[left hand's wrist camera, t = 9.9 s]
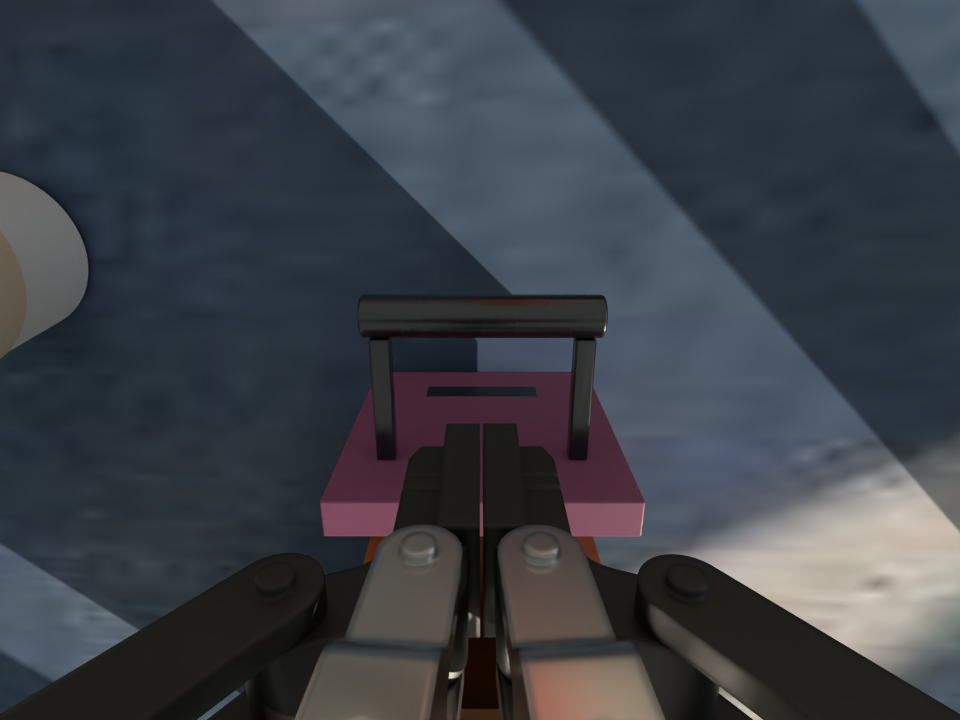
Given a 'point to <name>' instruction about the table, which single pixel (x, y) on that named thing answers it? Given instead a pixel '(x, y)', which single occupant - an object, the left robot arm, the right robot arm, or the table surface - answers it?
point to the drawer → (482, 399)
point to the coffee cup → (36, 262)
